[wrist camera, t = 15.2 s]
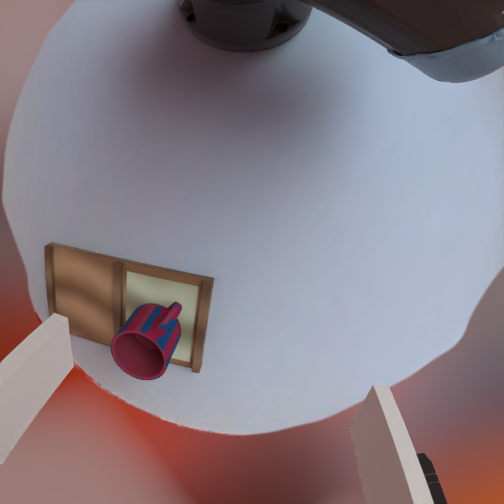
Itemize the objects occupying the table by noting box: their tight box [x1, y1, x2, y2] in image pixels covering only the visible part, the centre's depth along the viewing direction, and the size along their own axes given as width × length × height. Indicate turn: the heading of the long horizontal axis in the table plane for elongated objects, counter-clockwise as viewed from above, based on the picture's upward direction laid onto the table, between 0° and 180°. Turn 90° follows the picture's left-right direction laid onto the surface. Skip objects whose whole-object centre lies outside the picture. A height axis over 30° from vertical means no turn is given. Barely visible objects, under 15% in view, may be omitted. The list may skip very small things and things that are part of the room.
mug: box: [111, 301, 182, 380], centre depth 34 cm, size 7×10×7 cm
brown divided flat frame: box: [45, 243, 214, 373], centre depth 37 cm, size 15×23×3 cm, turn 79°
